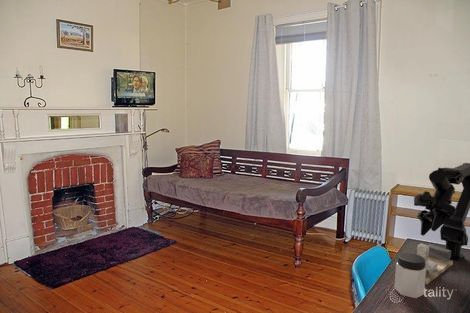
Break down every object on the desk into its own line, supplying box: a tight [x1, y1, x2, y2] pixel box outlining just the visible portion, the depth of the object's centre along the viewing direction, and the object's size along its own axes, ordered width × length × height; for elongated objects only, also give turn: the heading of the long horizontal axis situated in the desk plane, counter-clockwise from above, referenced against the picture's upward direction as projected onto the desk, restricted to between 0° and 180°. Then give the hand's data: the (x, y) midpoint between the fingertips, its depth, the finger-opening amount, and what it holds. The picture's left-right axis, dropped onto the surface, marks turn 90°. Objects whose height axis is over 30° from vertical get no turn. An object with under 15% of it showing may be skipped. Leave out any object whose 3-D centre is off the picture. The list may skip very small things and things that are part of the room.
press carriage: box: [416, 242, 438, 276], centre depth 132 cm, size 8×8×9 cm
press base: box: [425, 244, 454, 285], centre depth 136 cm, size 24×10×6 cm, turn 131°
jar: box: [394, 252, 426, 299], centre depth 119 cm, size 9×8×12 cm
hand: (427, 233), depth 130 cm, fingers open, 9 cm apart
